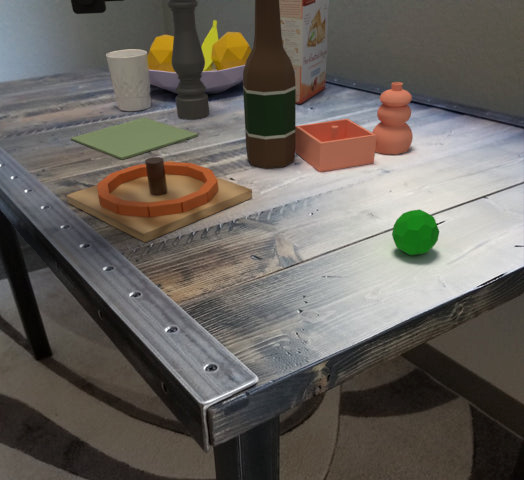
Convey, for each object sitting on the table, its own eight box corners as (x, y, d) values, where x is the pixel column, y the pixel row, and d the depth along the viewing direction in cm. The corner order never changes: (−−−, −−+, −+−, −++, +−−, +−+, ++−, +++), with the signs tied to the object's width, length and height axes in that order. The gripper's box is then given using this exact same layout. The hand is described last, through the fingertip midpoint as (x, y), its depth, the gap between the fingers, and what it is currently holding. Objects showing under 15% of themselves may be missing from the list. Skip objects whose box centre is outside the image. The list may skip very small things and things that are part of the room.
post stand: (145, 242, 70) (137, 198, 66) (68, 203, 80) (58, 163, 77) (252, 197, 80) (250, 157, 76) (171, 167, 90) (166, 130, 87)
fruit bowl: (218, 108, 116) (214, 45, 109) (115, 95, 127) (105, 37, 120) (285, 78, 135) (285, 23, 128) (190, 69, 146) (185, 17, 139)
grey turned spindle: (194, 121, 110) (178, -38, 94) (171, 116, 113) (152, -39, 97) (216, 113, 113) (204, -41, 98) (192, 108, 116) (177, -41, 101)
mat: (122, 160, 93) (121, 157, 93) (70, 140, 103) (70, 137, 102) (198, 136, 102) (198, 133, 102) (144, 119, 111) (144, 117, 111)
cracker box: (303, 105, 116) (304, -19, 103) (275, 102, 118) (273, -19, 106) (327, 88, 126) (331, -26, 113) (302, 86, 128) (303, -26, 116)
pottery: (319, 172, 86) (322, 102, 80) (295, 152, 94) (295, 87, 88) (424, 154, 91) (433, 87, 85) (393, 137, 98) (400, 74, 92)
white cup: (162, 104, 120) (155, 51, 114) (136, 114, 114) (127, 58, 108) (133, 100, 123) (125, 48, 117) (107, 109, 118) (97, 55, 112)
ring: (145, 227, 70) (143, 217, 69) (77, 194, 79) (74, 184, 78) (240, 189, 79) (240, 179, 78) (169, 163, 88) (168, 154, 87)
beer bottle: (305, 161, 90) (308, -21, 76) (264, 173, 87) (258, -16, 72) (276, 149, 95) (274, -24, 81) (236, 159, 92) (226, -20, 78)
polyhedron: (381, 249, 66) (385, 210, 64) (413, 238, 68) (418, 199, 65) (412, 267, 63) (417, 226, 60) (444, 254, 65) (451, 214, 62)
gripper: (50, -201, 58) (88, -2, 68) (-20, -236, 44) (40, 20, 55) (124, -205, 58) (151, -5, 68) (76, -242, 44) (119, 17, 54)
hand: (102, 6), depth 61 cm, fingers open, 9 cm apart
